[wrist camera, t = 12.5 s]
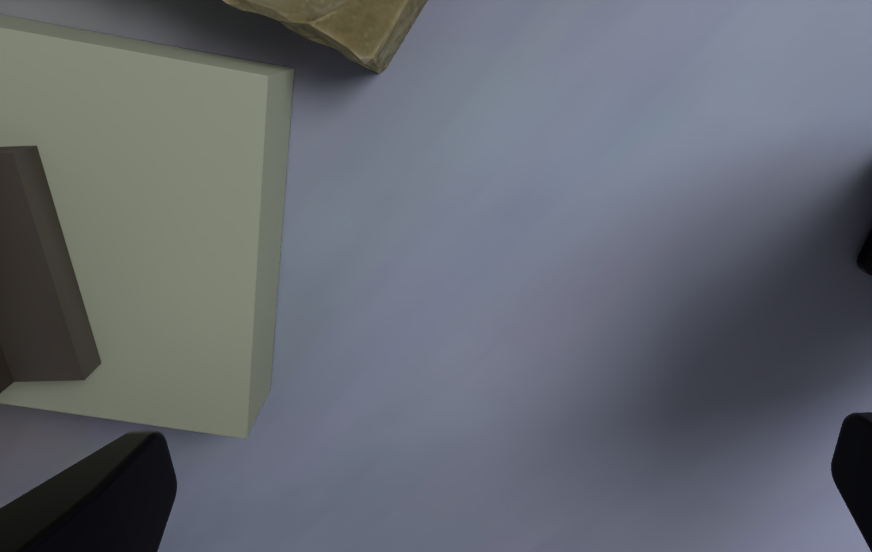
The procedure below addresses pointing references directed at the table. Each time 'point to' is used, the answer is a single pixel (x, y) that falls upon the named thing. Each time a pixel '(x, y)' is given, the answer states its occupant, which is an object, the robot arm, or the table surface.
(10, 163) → the dark photo frame
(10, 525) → the robot arm
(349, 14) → the decorative tile
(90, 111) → the picture ledge
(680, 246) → the table surface
